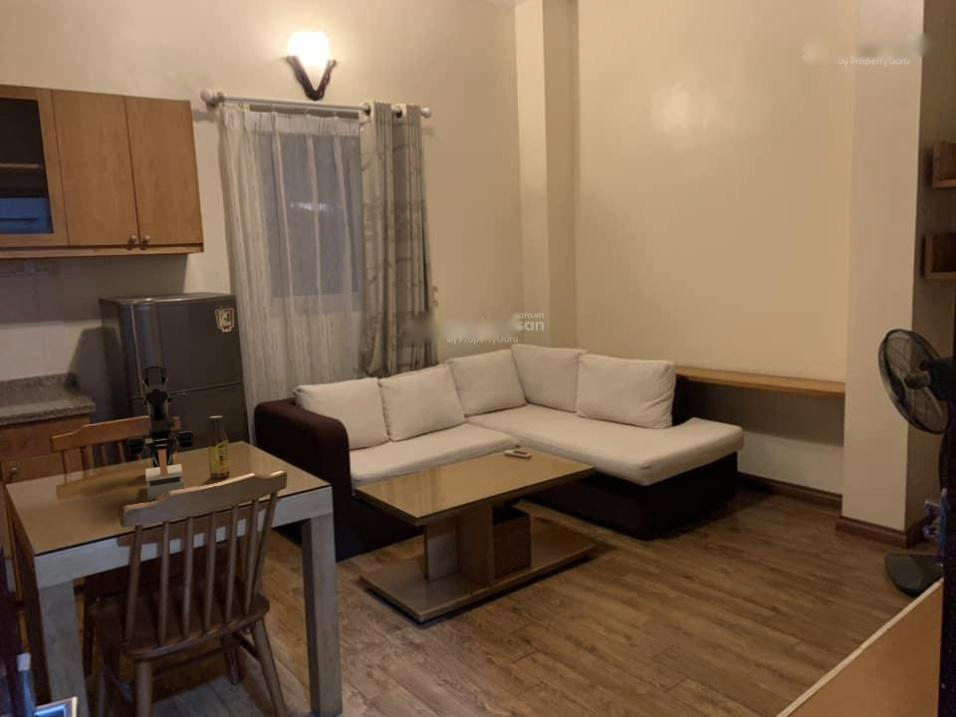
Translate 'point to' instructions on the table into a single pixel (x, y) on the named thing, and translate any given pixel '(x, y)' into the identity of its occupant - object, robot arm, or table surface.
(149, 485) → the parts tub
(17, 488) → the table surface
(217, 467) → the sauce bottle
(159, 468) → the lid
